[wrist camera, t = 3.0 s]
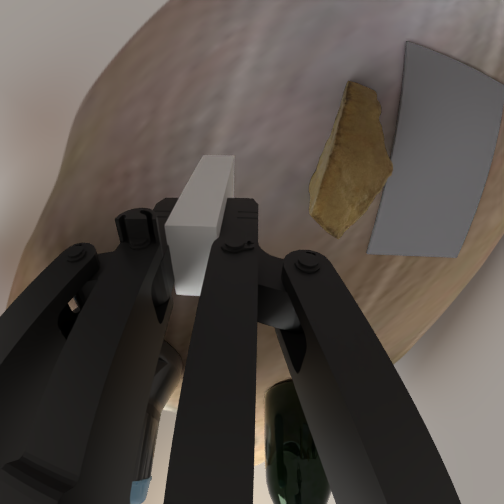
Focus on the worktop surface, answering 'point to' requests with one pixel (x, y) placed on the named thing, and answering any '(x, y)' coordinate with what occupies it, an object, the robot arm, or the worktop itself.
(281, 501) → the dark green wine bottle
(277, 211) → the worktop surface
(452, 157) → the mat
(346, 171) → the yellow wedge
